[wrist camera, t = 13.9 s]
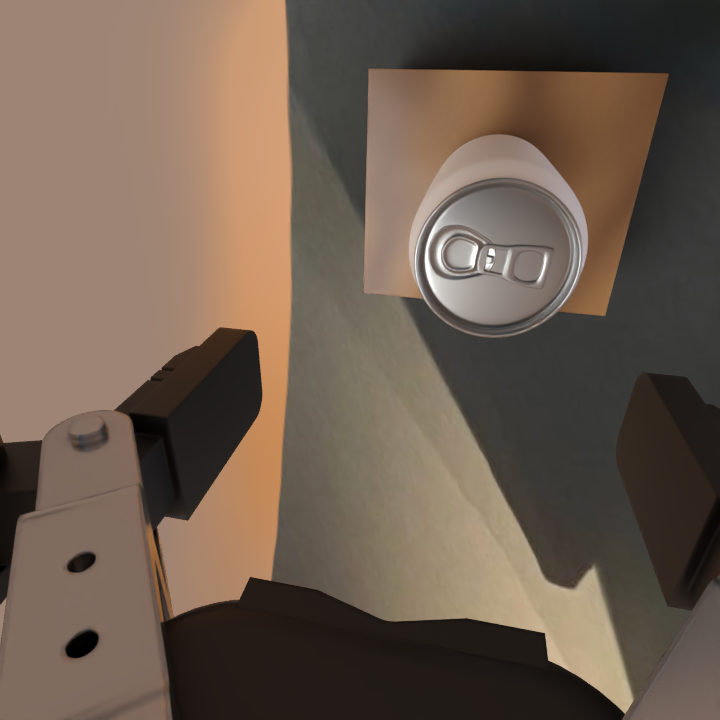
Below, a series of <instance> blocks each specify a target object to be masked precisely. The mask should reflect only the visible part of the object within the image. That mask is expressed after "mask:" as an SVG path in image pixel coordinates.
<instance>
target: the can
mask: <svg viewBox="0 0 720 720" xmlns="http://www.w3.org/2000/svg"><path fill="white" fill-rule="evenodd" d="M587 248H588V231H587V224H586V220H585V216H584V212H583V210H582V207H581V205H580V203H579V201H578V199H577V197H576V196H575V194H574V192H573V191H572V189H571V188H570V187H569V185H568V184H567V183H566V181H565V180H564V179H563V177H562V176H561V175H560V174H559V172H558V171H557V170H556V169H555V168H554V166H553V165H552V164H551V163H550V162H549V160H548V159H547V158H546V157H545V156H544V155H543V154H542V153H541V152H540V151H539V150H538V149H537V148H536V147H535V146H533V145H532V144H530V143H529V142H527V141H525V140H523V139H521V138H518V137H515V136H510V135H503V134H494V135H487V136H482V137H479V138H476V139H474V140H471V141H469V142H467V143H466V144H464V145H462V146H461V147H460V148H458V149H457V150H456V151H455V152H453V153H452V154H451V155H450V156H449V158H448V159H447V160H446V161H445V162H444V164H443V165H442V167H441V168H440V170H439V171H438V173H437V175H436V176H435V178H434V180H433V182H432V184H431V185H430V187H429V189H428V191H427V193H426V195H425V197H424V199H423V200H422V202H421V204H420V206H419V209H418V211H417V213H416V216H415V218H414V221H413V224H412V228H411V232H410V239H409V261H410V267H411V271H412V274H413V277H414V280H415V282H416V284H417V286H418V288H419V290H420V293H421V295H422V297H423V298H424V300H425V302H426V303H427V305H428V306H429V307H430V309H431V310H432V311H433V312H434V313H435V314H436V315H437V316H438V317H439V318H440V319H441V320H443V321H444V322H445V323H447V324H448V325H450V326H452V327H453V328H455V329H457V330H459V331H462V332H464V333H467V334H471V335H475V336H480V337H489V338H498V337H508V336H513V335H517V334H521V333H524V332H527V331H529V330H531V329H534V328H536V327H538V326H539V325H541V324H543V323H544V322H546V321H547V320H549V319H550V318H551V317H552V316H554V315H555V314H556V313H557V312H558V311H559V310H560V309H561V308H562V307H563V306H564V304H565V303H566V302H567V300H568V299H569V298H570V296H571V294H572V293H573V291H574V289H575V287H576V285H577V282H578V280H579V277H580V274H581V272H582V269H583V267H584V263H585V260H586V255H587Z"/></svg>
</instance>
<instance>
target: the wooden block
mask: <svg viewBox="0 0 720 720" xmlns="http://www.w3.org/2000/svg"><path fill="white" fill-rule="evenodd" d="M668 76H669V73H616V72H555V71H493V70H432V69H371V68H369V76H368V119H367V162H366V205H365V248H364V291H363V293H370V294H381V295H391V296H402V297H412V298H423V297H422V295H421V293H420V290H419V288H418V286H417V284H416V282H415V280H414V277H413V274H412V271H411V267H410V261H409V239H410V232H411V228H412V224H413V221H414V218H415V216H416V213H417V211H418V209H419V206H420V204H421V202H422V200H423V199H424V197H425V195H426V193H427V191H428V189H429V187H430V185H431V184H432V182H433V180H434V178H435V176H436V175H437V173H438V171H439V170H440V168H441V167H442V165H443V164H444V162H445V161H446V160H447V159H448V158H449V156H450V155H451V154H452V153H453V152H455V151H456V150H457V149H458V148H460V147H461V146H462V145H464V144H466V143H467V142H469V141H471V140H474V139H476V138H479V137H482V136H487V135H494V134H503V135H510V136H515V137H518V138H521V139H523V140H525V141H527V142H529V143H530V144H532V145H533V146H535V147H536V148H537V149H538V150H539V151H540V152H541V153H542V154H543V155H544V156H545V157H546V158H547V159H548V160H549V162H550V163H551V164H552V165H553V166H554V168H555V169H556V170H557V171H558V172H559V174H560V175H561V176H562V177H563V179H564V180H565V181H566V183H567V184H568V185H569V187H570V188H571V189H572V191H573V192H574V194H575V196H576V197H577V199H578V201H579V203H580V205H581V207H582V210H583V212H584V216H585V220H586V224H587V231H588V248H587V255H586V260H585V263H584V267H583V269H582V272H581V274H580V277H579V280H578V282H577V285H576V287H575V289H574V291H573V293H572V294H571V296H570V298H569V299H568V300H567V302H566V303H565V304H564V306H563V307H562V308H561V309H560V310H559V312H570V313H580V314H591V315H601V316H605V314H606V310H607V306H608V302H609V299H610V295H611V291H612V287H613V283H614V280H615V276H616V272H617V268H618V264H619V261H620V257H621V253H622V249H623V246H624V242H625V238H626V234H627V230H628V227H629V223H630V219H631V215H632V212H633V208H634V204H635V200H636V196H637V193H638V189H639V185H640V181H641V178H642V174H643V170H644V166H645V162H646V159H647V155H648V151H649V147H650V144H651V140H652V136H653V132H654V128H655V125H656V121H657V117H658V113H659V110H660V106H661V102H662V98H663V94H664V91H665V87H666V83H667V79H668ZM423 299H424V298H423Z"/></svg>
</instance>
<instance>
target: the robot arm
mask: <svg viewBox="0 0 720 720" xmlns="http://www.w3.org/2000/svg"><path fill="white" fill-rule="evenodd" d="M258 350H259V349H258V340H257V336H256V334H255V332H253V331H250V330H241V329H231V328H219V329H217V330H216V331H215V332H214V333H213V334H212V335H211V336H210V337H209V338H208V339H206V340H205V341H204V342H203V344H201V345H200V346H195V347H192V348H190V349H188V350H186V351H184V352H182V353H180V354H178V355H176V356H174V357H173V358H172V359H171V360H170V361H169V362H168V363H166V364H165V365H164V366H163V367H162V370H159V371H158V372H156V373H155V374H154V375H153V376H152V377H151V380H147V382H145V383H144V384H143V385H142V386H141V387H140V388H138V389H137V390H136V391H135V392H134V393H133V394H132V395H131V396H130V397H129V398H127V399H126V400H125V401H124V402H123V403H122V404H121V405H119V406H118V407H117V408H116V409H115V410H114V411H111V410H99V411H91V412H86V413H82V414H79V415H77V416H73V417H71V418H68V419H66V420H64V421H62V422H61V423H59V424H57V425H56V426H54V427H53V428H52V429H51V430H50V431H49V432H48V433H47V434H46V435H45V437H44V439H43V440H40V441H26V442H12V443H3V441H2V438H1V435H0V604H1V603H2V602H3V601H4V600H5V598H6V597H7V600H6V607H5V615H4V623H3V629H2V637H1V645H0V720H720V409H719V408H717V407H716V406H714V405H710V404H705V402H704V401H703V400H702V398H701V397H700V395H699V394H698V393H697V391H696V390H695V388H694V387H693V385H692V384H691V383H690V381H689V380H688V379H687V378H686V377H682V376H673V375H663V374H654V373H641V374H640V375H639V376H638V378H637V380H636V382H635V385H634V388H633V391H632V394H631V398H630V401H629V404H628V407H627V410H626V414H625V417H624V420H623V423H622V426H621V430H620V433H619V436H618V440H617V447H616V460H617V466H618V470H619V472H620V475H621V478H622V481H623V483H624V486H625V489H626V492H627V495H628V497H629V500H630V503H631V506H632V509H633V511H634V514H635V517H636V520H637V523H638V525H639V528H640V531H641V534H642V536H643V539H644V542H645V545H646V548H647V550H648V553H649V556H650V559H651V562H652V564H653V567H654V570H655V573H656V576H657V578H658V581H659V584H660V587H661V590H662V592H663V595H664V598H665V601H666V603H667V606H669V607H675V608H681V609H686V610H692V611H691V613H690V614H689V616H688V617H687V619H686V620H685V622H684V623H683V625H682V627H681V628H680V630H679V631H678V633H677V634H676V636H675V637H674V639H673V641H672V642H671V644H670V645H669V647H668V648H667V650H666V651H665V653H664V655H663V656H662V658H661V659H660V661H659V662H658V664H657V665H656V667H655V669H654V670H653V672H652V673H651V675H650V676H649V678H648V680H647V681H646V683H645V684H644V686H643V687H642V689H641V690H640V692H639V694H638V695H637V697H636V698H635V700H634V701H633V703H632V704H631V706H630V708H629V709H628V711H627V712H626V714H624V713H623V712H622V711H621V710H620V709H619V708H618V707H617V706H616V705H615V704H614V703H613V702H612V701H610V700H609V699H608V698H607V697H606V696H604V695H603V694H602V693H601V692H600V691H598V690H597V689H596V688H594V687H593V686H591V685H590V684H588V683H587V682H586V681H584V680H583V679H581V678H580V677H578V676H577V675H575V674H573V673H571V672H570V671H568V670H566V669H564V668H563V667H561V666H559V665H557V664H555V663H552V662H550V661H548V656H547V647H546V639H545V633H541V632H536V631H530V630H525V629H520V628H515V627H509V626H504V625H499V624H494V623H488V622H483V621H478V620H473V619H467V618H465V619H443V620H421V621H399V622H391V621H385V620H382V619H379V618H377V617H375V616H373V615H371V614H369V613H366V612H364V611H362V610H360V609H358V608H356V607H353V606H351V605H349V604H347V603H345V602H342V601H340V600H338V599H336V598H334V597H332V596H329V595H327V594H325V593H323V592H321V591H319V590H315V589H310V588H305V587H300V586H294V585H289V584H284V583H279V582H273V581H268V580H263V579H258V578H252V577H250V578H249V581H248V583H247V585H246V587H245V589H244V591H243V594H242V596H241V598H240V600H230V601H224V602H218V603H213V604H209V605H206V606H202V607H199V608H195V609H193V610H190V611H188V612H185V613H182V614H180V615H178V616H176V617H174V615H173V610H172V604H171V599H170V593H169V588H168V582H167V576H166V571H165V565H164V560H163V554H162V548H161V543H160V537H159V533H158V529H157V526H158V524H159V523H160V522H161V520H162V519H163V518H164V517H171V518H177V519H182V520H189V518H190V517H191V515H192V514H193V512H194V511H195V509H196V508H197V506H198V505H199V503H200V502H201V500H202V499H203V497H204V495H205V494H206V493H207V491H208V490H209V488H210V487H211V485H212V484H213V482H214V481H215V479H216V478H217V476H218V475H219V473H220V472H221V470H222V469H223V467H224V466H225V464H226V463H227V461H228V460H229V458H230V457H231V455H232V454H233V452H234V451H235V449H236V448H237V446H238V445H239V443H240V442H241V440H242V439H243V437H244V436H245V434H246V433H247V431H248V430H249V428H250V427H251V425H252V424H253V422H254V421H255V419H256V418H257V416H258V414H259V411H260V407H261V402H262V383H261V373H260V361H259V351H258Z"/></svg>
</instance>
